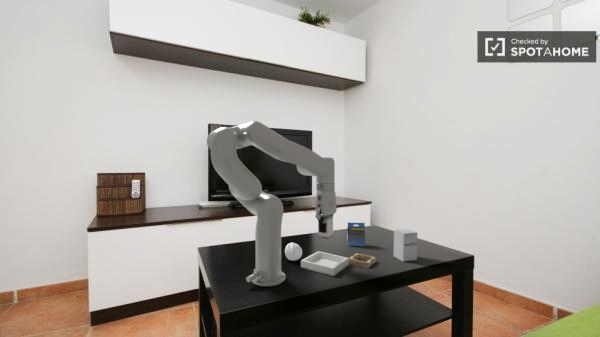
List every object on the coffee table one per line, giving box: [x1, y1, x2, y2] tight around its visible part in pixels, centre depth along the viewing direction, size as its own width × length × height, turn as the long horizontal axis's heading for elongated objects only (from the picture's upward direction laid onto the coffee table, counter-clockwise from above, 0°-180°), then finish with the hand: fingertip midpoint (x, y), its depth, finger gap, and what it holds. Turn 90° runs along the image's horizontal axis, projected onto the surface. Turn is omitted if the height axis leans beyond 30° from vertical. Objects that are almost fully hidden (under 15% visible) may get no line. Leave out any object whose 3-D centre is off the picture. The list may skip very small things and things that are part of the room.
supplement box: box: [393, 228, 418, 262], centre depth 123 cm, size 7×7×13 cm
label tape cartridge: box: [346, 222, 366, 247], centre depth 142 cm, size 9×4×12 cm, turn 84°
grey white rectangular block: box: [317, 215, 334, 240], centre depth 113 cm, size 4×4×9 cm
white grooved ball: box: [284, 242, 303, 262], centre depth 121 cm, size 8×8×8 cm
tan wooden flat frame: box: [348, 252, 377, 269], centre depth 118 cm, size 9×9×2 cm
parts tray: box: [300, 250, 350, 277], centre depth 114 cm, size 14×15×3 cm
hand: (325, 230), depth 113 cm, fingers closed on grey white rectangular block, 4 cm apart
